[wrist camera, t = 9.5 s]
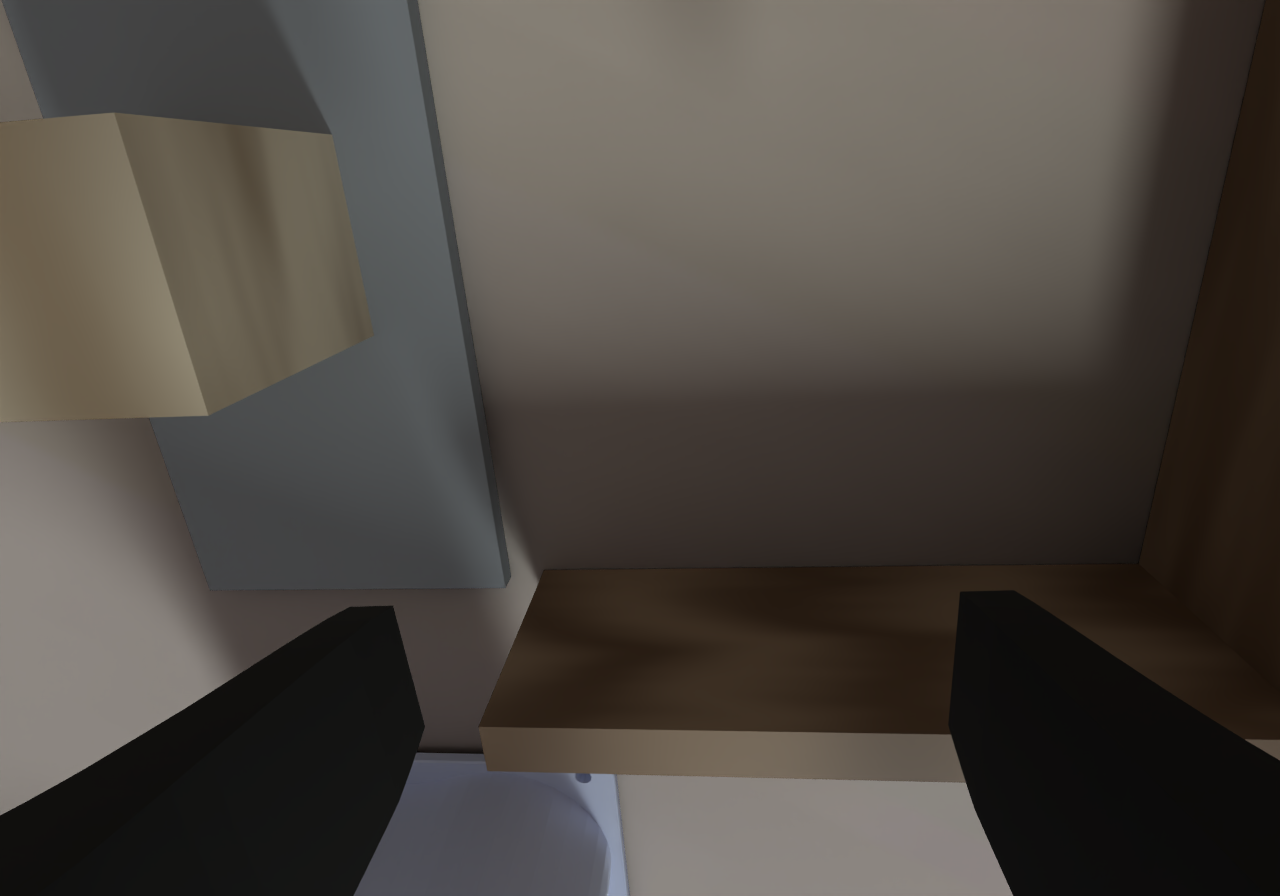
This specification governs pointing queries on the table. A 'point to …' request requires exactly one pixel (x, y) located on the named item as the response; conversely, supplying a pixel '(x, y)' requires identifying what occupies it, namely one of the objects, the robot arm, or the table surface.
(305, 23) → the mat
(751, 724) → the wooden u-shaped frame
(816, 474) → the table surface
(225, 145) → the block
